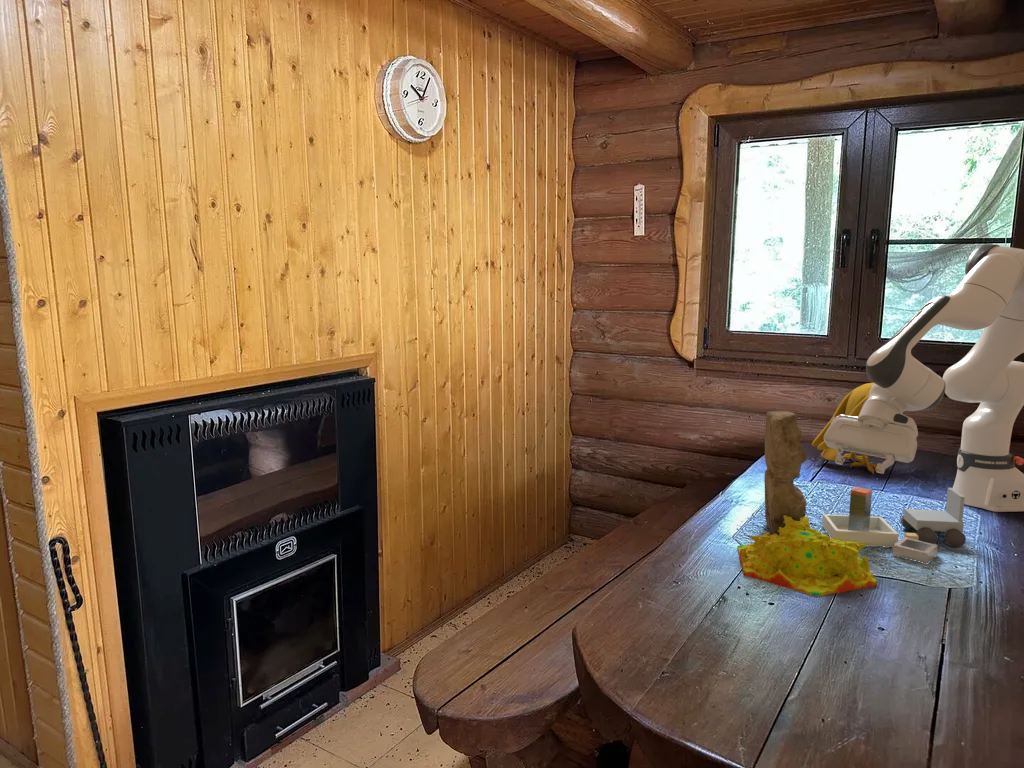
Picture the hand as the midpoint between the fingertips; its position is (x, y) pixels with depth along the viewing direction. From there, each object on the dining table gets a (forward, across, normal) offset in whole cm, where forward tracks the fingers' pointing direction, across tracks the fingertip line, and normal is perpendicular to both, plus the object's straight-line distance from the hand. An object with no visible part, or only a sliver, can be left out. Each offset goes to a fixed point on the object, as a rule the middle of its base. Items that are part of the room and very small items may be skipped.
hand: (858, 467), depth 167 cm
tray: (+12, +2, +12) cm, 17 cm away
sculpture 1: (+19, -13, +6) cm, 24 cm away
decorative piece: (+30, 0, -6) cm, 31 cm away
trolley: (+4, +14, +20) cm, 25 cm away
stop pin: (+12, +2, +12) cm, 16 cm away
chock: (+9, +12, +15) cm, 21 cm away
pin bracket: (+14, +15, +10) cm, 22 cm away
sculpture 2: (-32, -24, +59) cm, 72 cm away
